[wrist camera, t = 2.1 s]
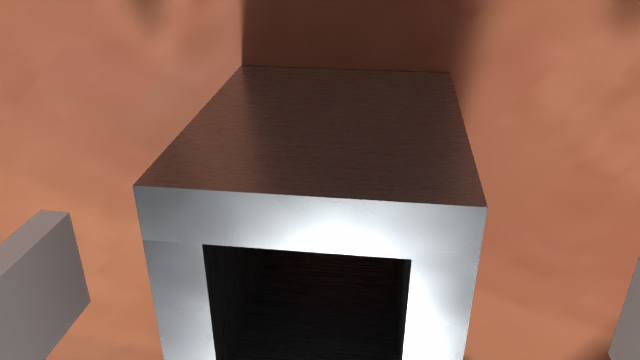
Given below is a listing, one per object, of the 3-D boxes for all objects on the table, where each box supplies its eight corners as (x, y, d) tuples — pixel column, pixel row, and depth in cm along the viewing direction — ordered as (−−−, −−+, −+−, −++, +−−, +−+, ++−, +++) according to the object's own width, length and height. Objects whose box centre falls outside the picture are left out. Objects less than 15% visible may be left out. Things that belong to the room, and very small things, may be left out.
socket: (253, 236, 20) (175, 421, 13) (241, 65, 17) (133, 185, 10) (430, 249, 19) (447, 451, 12) (449, 73, 16) (488, 207, 9)
